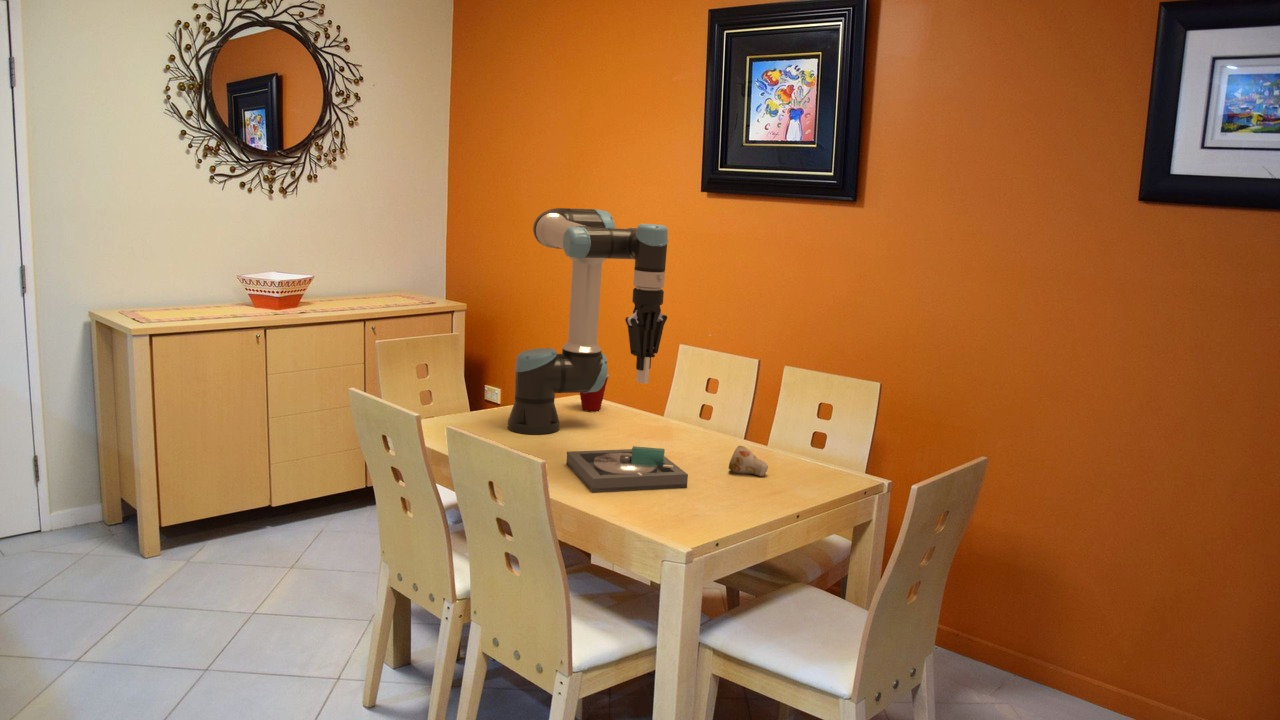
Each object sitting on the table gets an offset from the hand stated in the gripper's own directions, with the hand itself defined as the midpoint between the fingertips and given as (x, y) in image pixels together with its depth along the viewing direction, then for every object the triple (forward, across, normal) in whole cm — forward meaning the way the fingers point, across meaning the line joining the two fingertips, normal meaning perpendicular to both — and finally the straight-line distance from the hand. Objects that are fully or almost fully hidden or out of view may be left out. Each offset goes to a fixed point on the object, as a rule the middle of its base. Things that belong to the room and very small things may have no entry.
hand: (642, 382), depth 241 cm
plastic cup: (+26, +41, +59) cm, 76 cm away
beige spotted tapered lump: (+24, +24, -17) cm, 38 cm away
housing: (+24, -3, +1) cm, 24 cm away
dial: (+23, -3, 0) cm, 23 cm away
